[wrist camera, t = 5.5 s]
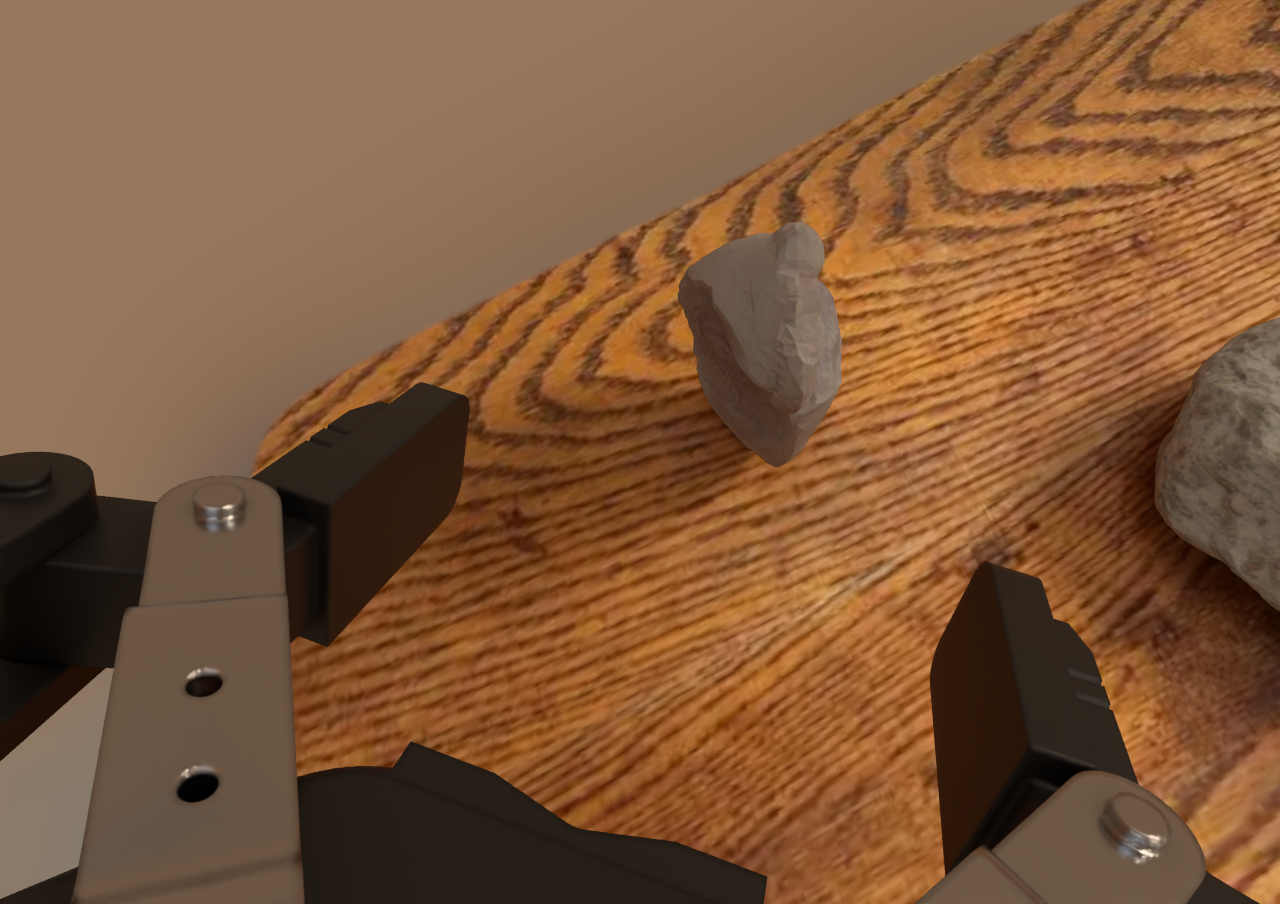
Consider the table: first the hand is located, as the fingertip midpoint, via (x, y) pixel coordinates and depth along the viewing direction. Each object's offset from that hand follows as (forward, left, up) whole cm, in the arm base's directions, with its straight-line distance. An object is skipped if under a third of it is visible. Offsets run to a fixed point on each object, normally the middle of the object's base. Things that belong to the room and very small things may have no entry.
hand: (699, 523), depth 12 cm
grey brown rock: (-2, +7, -13) cm, 15 cm away
